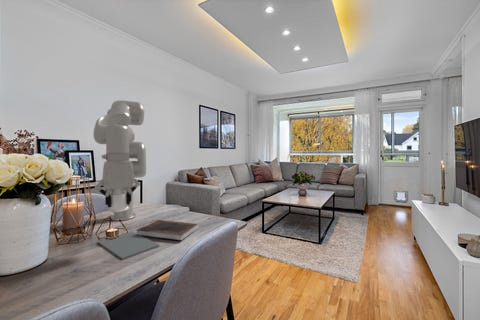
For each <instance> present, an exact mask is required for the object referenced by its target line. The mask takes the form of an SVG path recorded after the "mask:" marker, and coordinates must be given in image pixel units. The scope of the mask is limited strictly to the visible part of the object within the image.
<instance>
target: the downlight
mask: <svg viewBox="0 0 480 320" xmlns="http://www.w3.org/2000/svg"><path fill="white" fill-rule="evenodd" d="M109 195H110V197H111V207H109V208H108V209H107V212H110V213H114V212H121V211H125V210H128V209H129V207H128V206H127V192H125V188H119V189H111V192H110V194H109Z"/></svg>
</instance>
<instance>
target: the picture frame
mask: <svg viewBox="0 0 480 320" xmlns="http://www.w3.org/2000/svg"><path fill="white" fill-rule="evenodd" d="M198 229H199V223H193V222H191V223H190V222H185V221H182V222H181V221H173V220H164V219H163V220H162V219H158V220H156V221H153V222H151V223H149V224H147V225H144V226H142V227H139V228H138V229H136V232H135V233H136V234H137V235H140V236H142V237H150V238H161V239H169V240H173V241H174V240H176V241H183V240H184V239H185V238H187V237H188V236H189V235H191V234H192V233H193V232H195V231H196V230H198Z"/></svg>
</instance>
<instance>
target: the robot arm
mask: <svg viewBox="0 0 480 320" xmlns="http://www.w3.org/2000/svg"><path fill="white" fill-rule="evenodd" d="M144 119H145V109H144V106H143V105H142V103H140V102H138V101H131V100H116V101H113V103H112V104H111V107H110V108H109V109H108V110H107V114H105V115H103V116H101V117H99V118H97V120H96V122H95V125H94V128H93V139H94V141H95V142H96V143H97V144H99V145H105V147H106V148H105V149H106V150H105V151H106V152H105V154H101V159H102V160H103V159H104V160H106V161H104V163H103V167H102V178H101V179H100V181H99V182H98V183H96V185H95V186H94V189H95V190H96V191H98V192H99V193H100V194H102V195H103V196H104V197H105V199H104V202H105V206H107V207H108V208H110V207H111V197H110V195H109V194H110V193H111V189H119V188H125V192H127V206H128V207H129V209H128V210H125V211H121V212H113V214H112V215H111V216H110V217H111V219H112V220H111V219H110V220H111V221H113V222H114V221H115V222H117V221H118V222H120V221H119V219H120V220H121V221H122V222H123V221H128V220H131V219H134V218H136V216H137V214H136V213H135V212H134V202H133V201H134V199H133V198H134V197H133V196H134V195H133V194H134V193H133V192H134V191H136V189H137V188H138V187H139V186H140V185H141V183H140V182H139V181H138V180H137V178H144V177H146V174H147V149H146V145H145V143H143V142H142V141H135V138H136V137H135V131H134V130H133V128H132V127H130V126H142V125H143V123H144V121H145V120H144ZM130 159H135V160H130ZM101 187H103V188H104V189H105V190H104V189H103V188H101ZM118 218H119V219H118Z"/></svg>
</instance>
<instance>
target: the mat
mask: <svg viewBox="0 0 480 320" xmlns="http://www.w3.org/2000/svg"><path fill="white" fill-rule="evenodd" d="M118 236H119V237H118V238H116V239H113V240H106V239H102V240H98V241H97V244H99V245H100V246H102V248H105V249H106V250H108V252H110V253H112V254H113V255H115V256H116V257H118V258H119V259H120V260H121V261H122V260H125V259H128V258H132V257H134V256H136V255H137V256H138V255H139V254H142V253H145V252H148V251H150V250H153V249H155V248H158V247H160V244H159V243H157V242H154V241H152V240H150V239H149V238H146V237H145V236H141V235H137V234H136V232H134V231H131V232H127V233H123V234H120V235H119V234H118Z"/></svg>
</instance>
